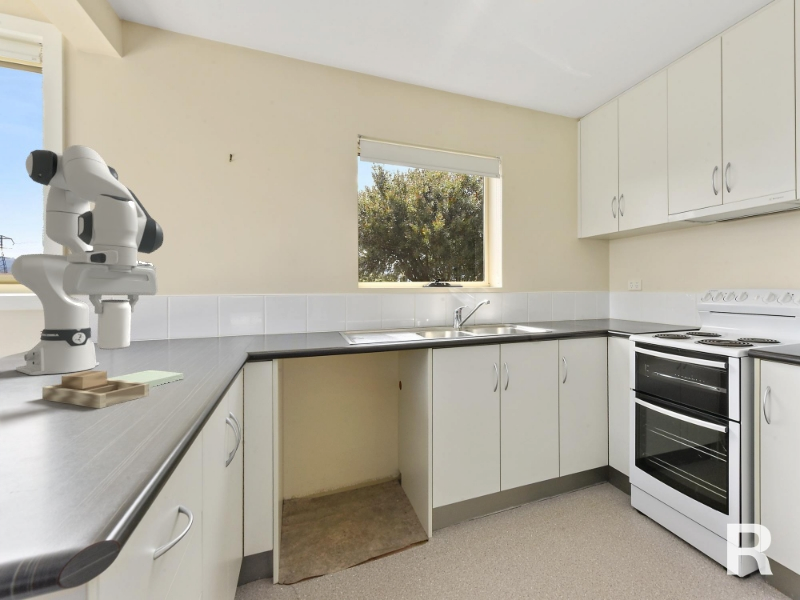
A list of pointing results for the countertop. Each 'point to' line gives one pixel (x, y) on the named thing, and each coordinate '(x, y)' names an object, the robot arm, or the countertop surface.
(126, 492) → the countertop surface
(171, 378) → the board
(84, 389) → the offcut lower
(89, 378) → the offcut upper
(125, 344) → the can
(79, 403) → the rack
